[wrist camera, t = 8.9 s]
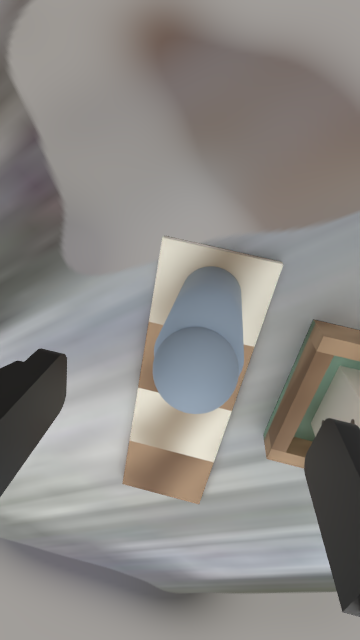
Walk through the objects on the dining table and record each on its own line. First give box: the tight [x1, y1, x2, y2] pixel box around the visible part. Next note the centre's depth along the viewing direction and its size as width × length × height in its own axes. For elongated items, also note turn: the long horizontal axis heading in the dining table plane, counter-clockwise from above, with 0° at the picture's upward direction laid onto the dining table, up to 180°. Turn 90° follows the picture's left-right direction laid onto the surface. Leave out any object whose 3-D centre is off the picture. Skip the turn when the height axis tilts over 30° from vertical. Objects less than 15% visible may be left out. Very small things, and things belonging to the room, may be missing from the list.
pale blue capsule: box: [153, 266, 244, 414], centre depth 14 cm, size 4×4×9 cm
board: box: [123, 236, 283, 504], centre depth 22 cm, size 7×22×1 cm, turn 169°
